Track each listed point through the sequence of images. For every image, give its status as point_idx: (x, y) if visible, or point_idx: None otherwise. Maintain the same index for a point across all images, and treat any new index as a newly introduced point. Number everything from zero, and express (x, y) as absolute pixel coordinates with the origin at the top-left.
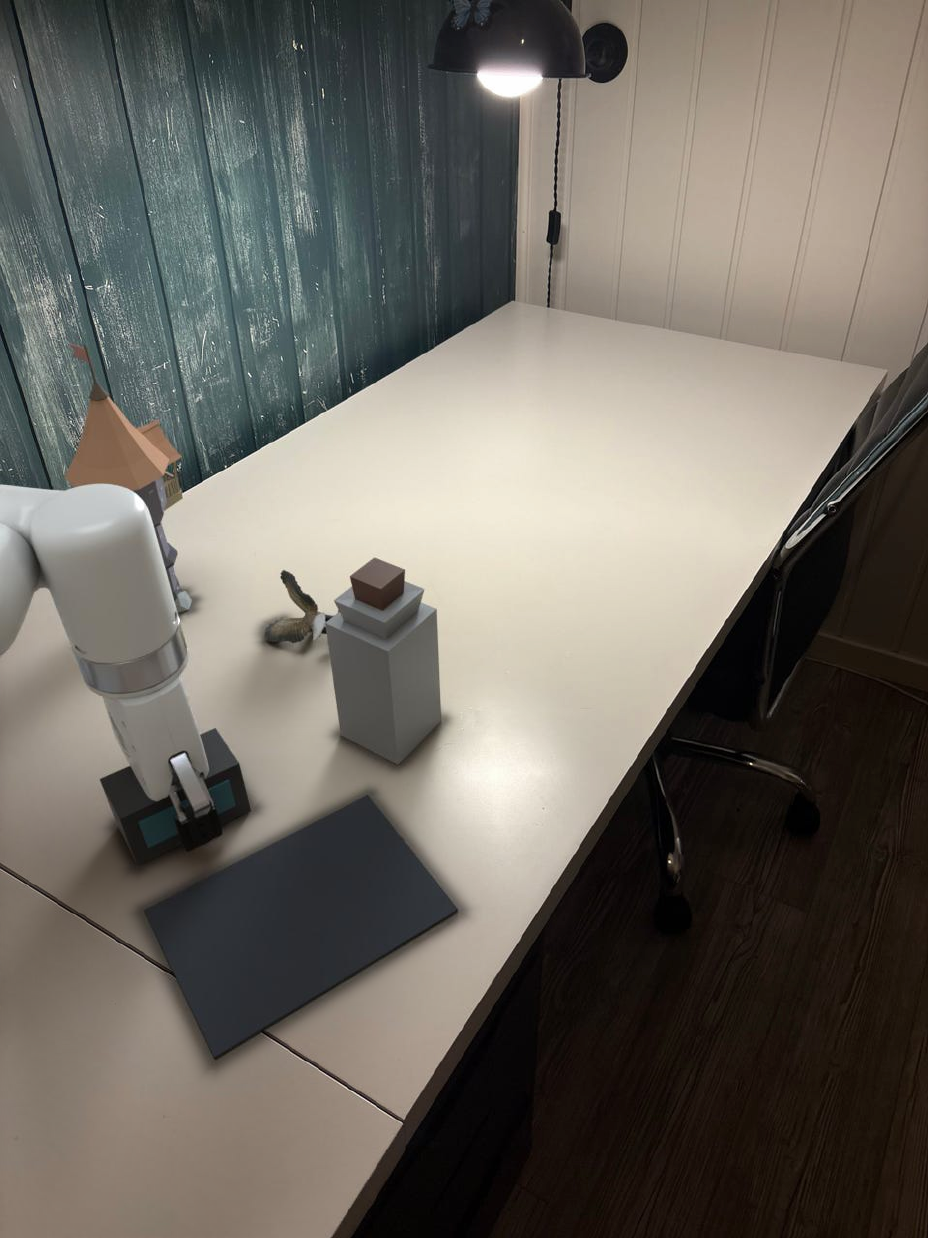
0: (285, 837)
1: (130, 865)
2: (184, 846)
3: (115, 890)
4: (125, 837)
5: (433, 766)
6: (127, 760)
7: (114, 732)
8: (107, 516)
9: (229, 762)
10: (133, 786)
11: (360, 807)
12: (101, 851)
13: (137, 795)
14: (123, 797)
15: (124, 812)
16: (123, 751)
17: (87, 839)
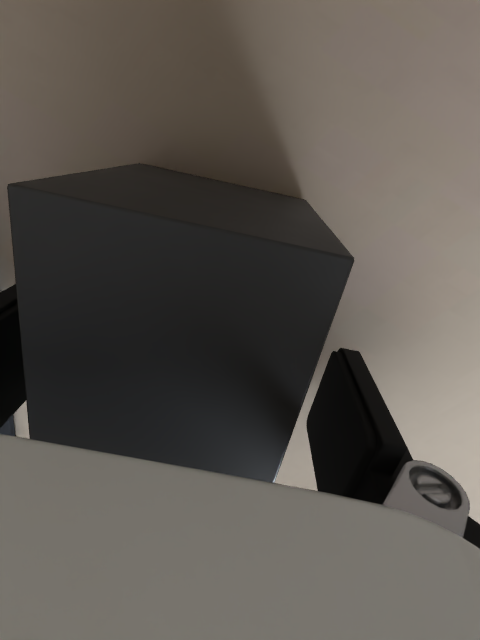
0: (8, 425)
1: (157, 149)
2: (5, 291)
3: (100, 61)
4: (152, 179)
5: None
6: (185, 479)
7: (443, 621)
8: None
9: None
10: (175, 343)
11: None
12: (263, 111)
13: (111, 327)
14: (139, 277)
15: (34, 228)
16: (220, 543)
17: (339, 102)
